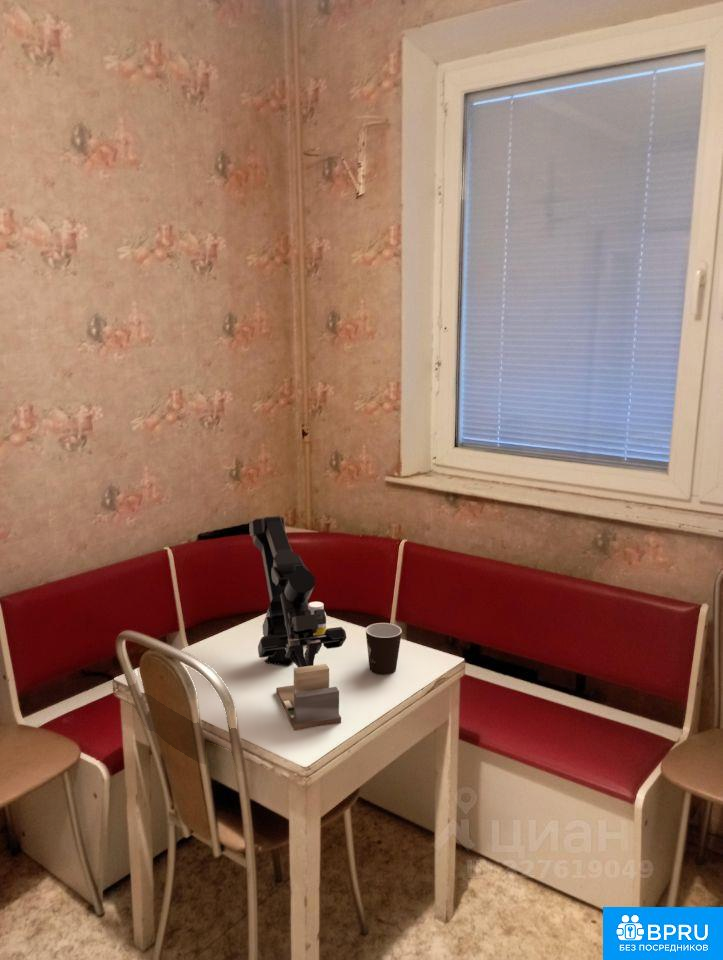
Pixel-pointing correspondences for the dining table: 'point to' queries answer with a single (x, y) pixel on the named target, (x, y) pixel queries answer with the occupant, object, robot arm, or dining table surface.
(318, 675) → the pad
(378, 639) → the coffee mug
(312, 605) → the supplement bottle
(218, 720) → the dining table surface
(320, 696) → the gauge track
